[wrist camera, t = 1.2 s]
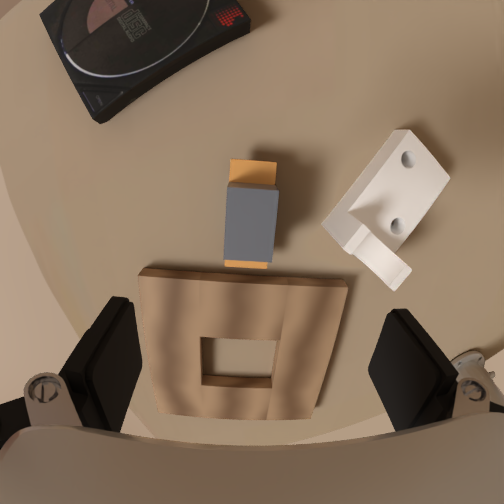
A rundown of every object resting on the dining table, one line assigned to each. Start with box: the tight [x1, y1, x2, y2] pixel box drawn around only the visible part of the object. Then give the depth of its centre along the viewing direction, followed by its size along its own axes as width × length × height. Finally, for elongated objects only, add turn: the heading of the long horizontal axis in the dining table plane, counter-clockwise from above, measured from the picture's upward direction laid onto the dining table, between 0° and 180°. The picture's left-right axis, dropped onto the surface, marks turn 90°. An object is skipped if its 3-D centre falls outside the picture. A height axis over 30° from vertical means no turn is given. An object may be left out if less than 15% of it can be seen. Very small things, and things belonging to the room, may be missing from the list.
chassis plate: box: [138, 268, 348, 420], centre depth 35 cm, size 22×22×2 cm
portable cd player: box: [39, 0, 251, 124], centre depth 20 cm, size 16×17×4 cm
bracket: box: [321, 130, 450, 291], centre depth 26 cm, size 13×7×8 cm, turn 143°
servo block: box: [224, 159, 279, 269], centre depth 27 cm, size 4×10×6 cm, turn 176°
